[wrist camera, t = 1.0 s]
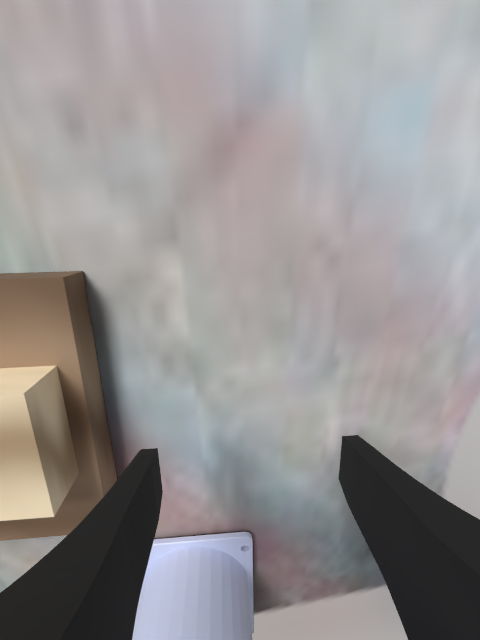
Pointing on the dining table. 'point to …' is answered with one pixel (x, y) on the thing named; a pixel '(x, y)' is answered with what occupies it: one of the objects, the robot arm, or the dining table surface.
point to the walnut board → (75, 378)
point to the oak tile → (33, 444)
